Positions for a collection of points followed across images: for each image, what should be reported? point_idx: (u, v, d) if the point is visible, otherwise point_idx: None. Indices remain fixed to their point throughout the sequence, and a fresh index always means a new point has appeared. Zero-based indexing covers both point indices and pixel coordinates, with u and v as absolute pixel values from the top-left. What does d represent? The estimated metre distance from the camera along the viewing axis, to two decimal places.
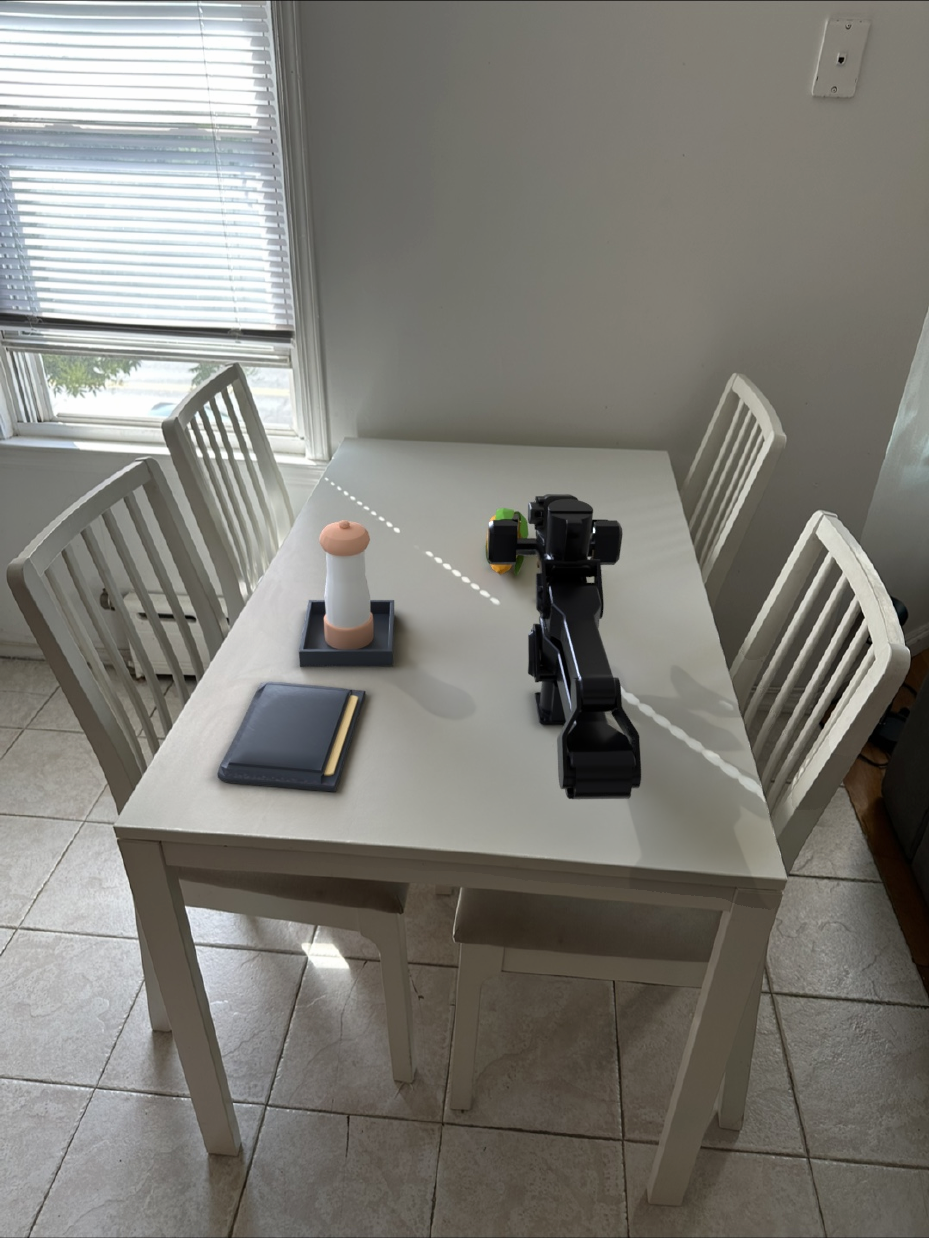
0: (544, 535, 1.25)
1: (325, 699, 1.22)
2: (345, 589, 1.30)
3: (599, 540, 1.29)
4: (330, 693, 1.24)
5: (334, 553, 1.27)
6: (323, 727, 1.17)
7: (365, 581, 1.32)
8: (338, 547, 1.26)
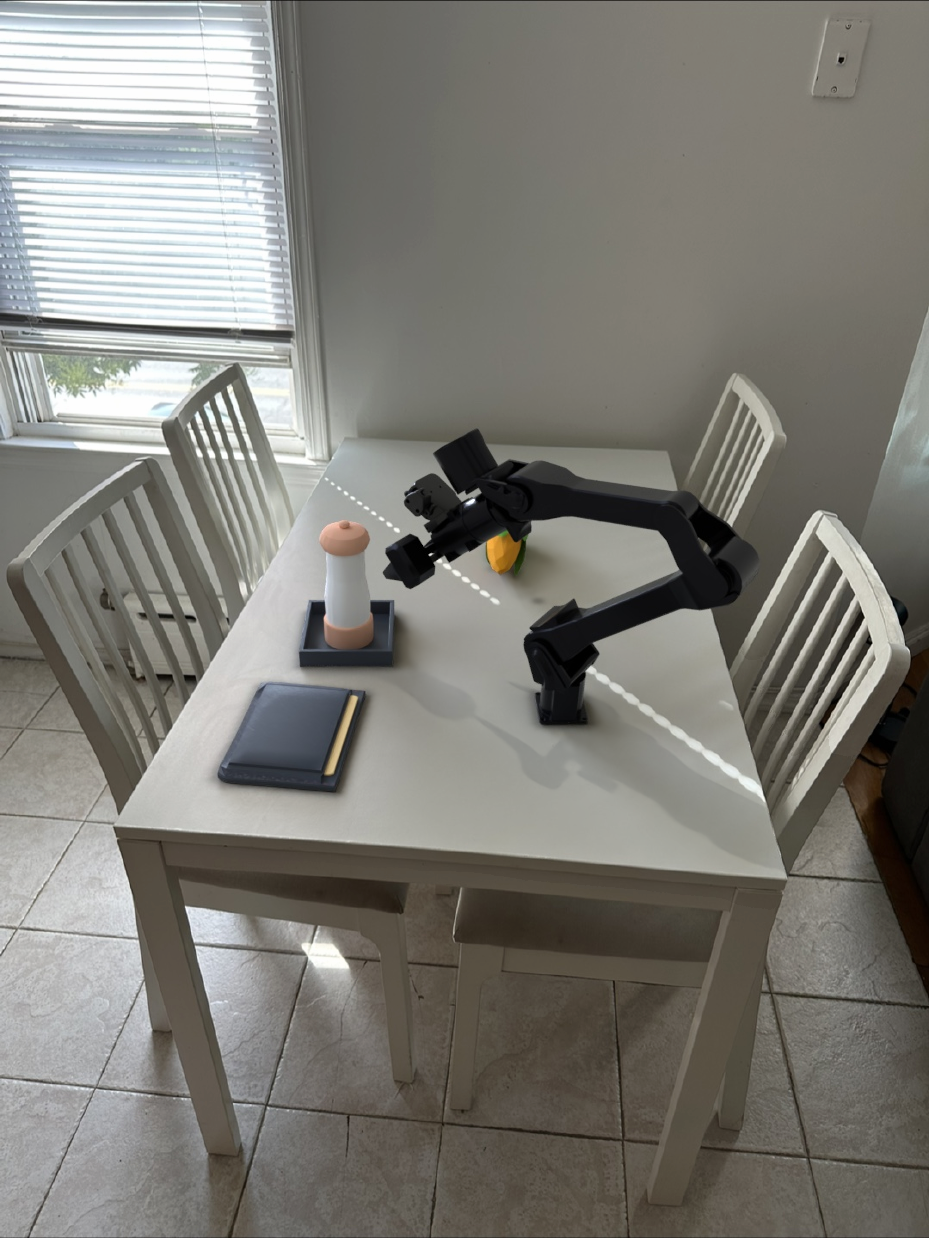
0: (440, 512, 1.19)
1: (325, 699, 1.22)
2: (345, 589, 1.30)
3: None
4: (330, 693, 1.24)
5: (334, 553, 1.27)
6: (323, 727, 1.17)
7: (365, 581, 1.32)
8: (338, 547, 1.26)
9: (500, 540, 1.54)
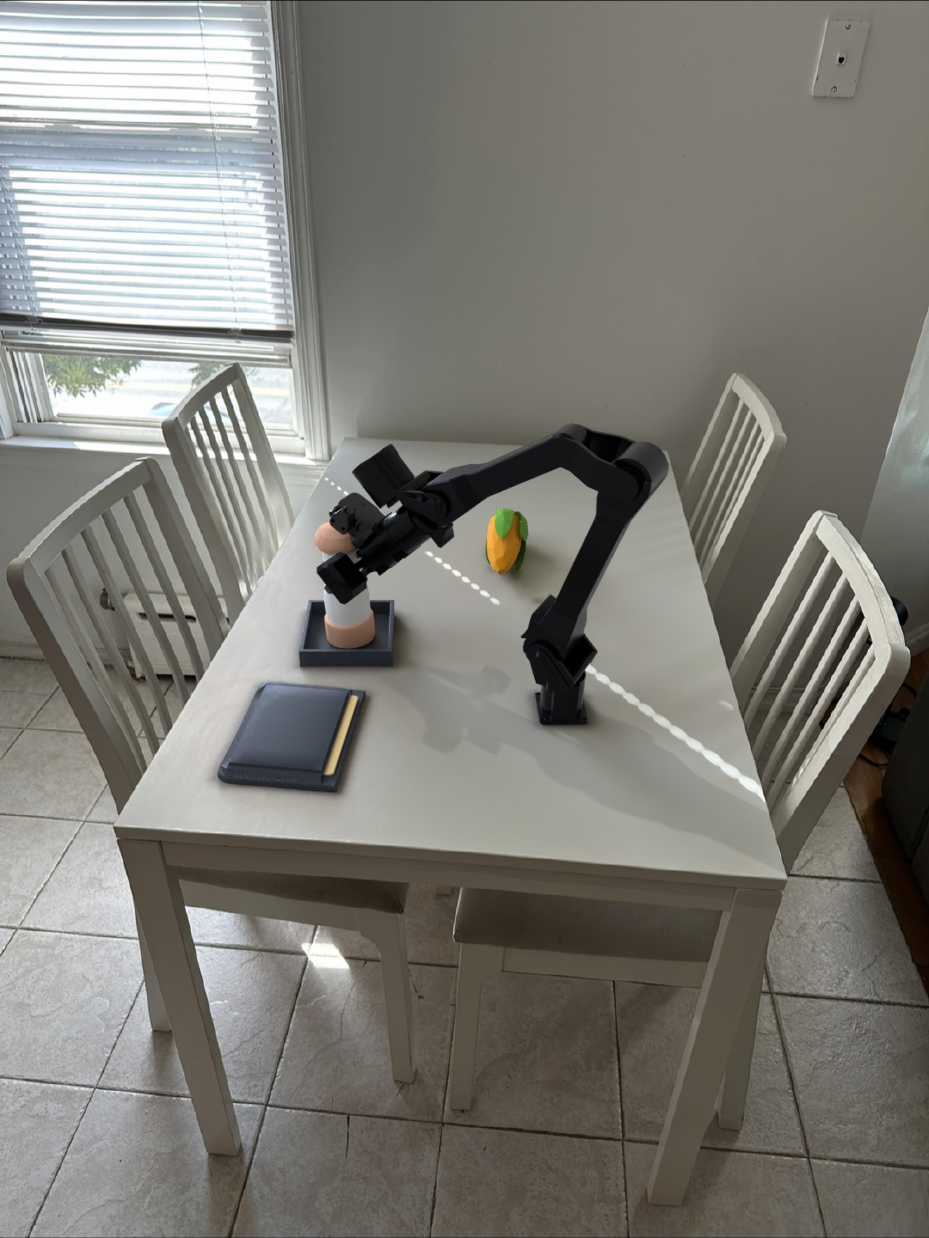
0: (366, 527, 1.24)
1: (325, 699, 1.22)
2: None
3: None
4: (330, 693, 1.24)
5: (329, 552, 1.27)
6: (323, 727, 1.17)
7: None
8: (332, 546, 1.26)
9: (501, 540, 1.54)
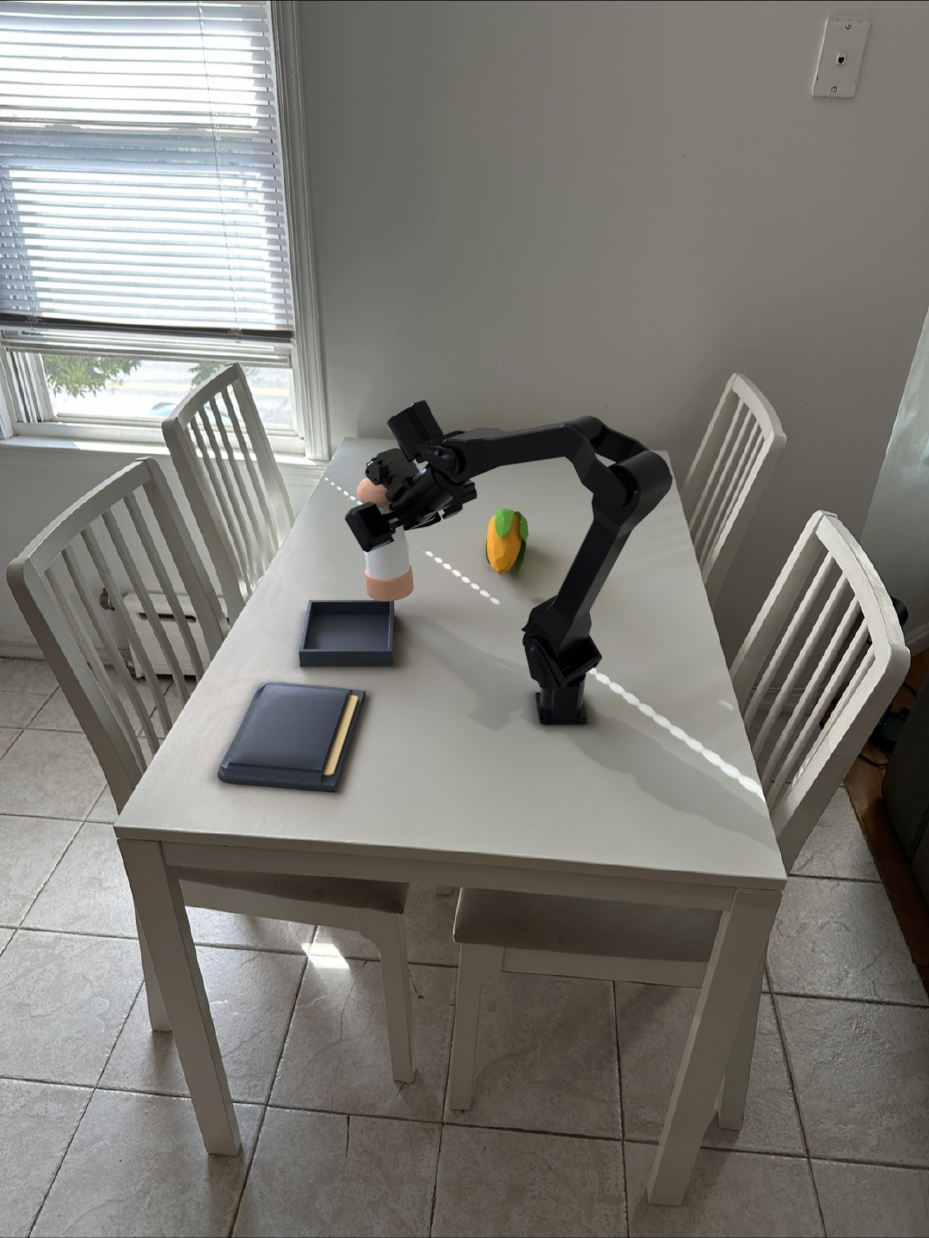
0: (398, 481, 1.27)
1: (325, 699, 1.22)
2: None
3: None
4: (330, 693, 1.24)
5: None
6: (323, 727, 1.17)
7: (400, 534, 1.36)
8: (368, 496, 1.31)
9: (501, 540, 1.54)
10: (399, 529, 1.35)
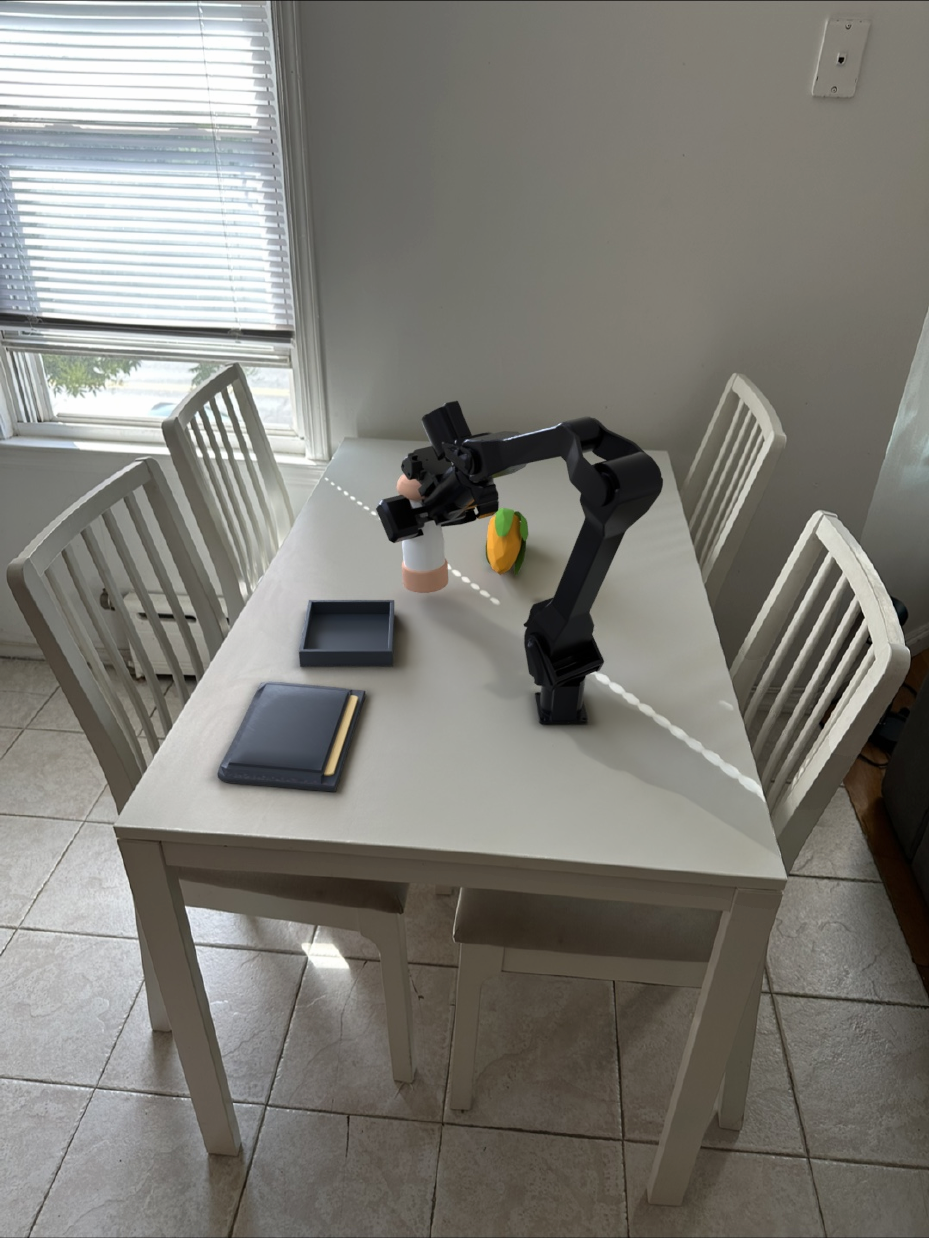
0: (429, 477, 1.32)
1: (325, 699, 1.22)
2: None
3: None
4: (330, 693, 1.24)
5: None
6: (323, 727, 1.17)
7: (435, 529, 1.40)
8: (404, 490, 1.36)
9: (500, 540, 1.54)
10: (434, 524, 1.40)
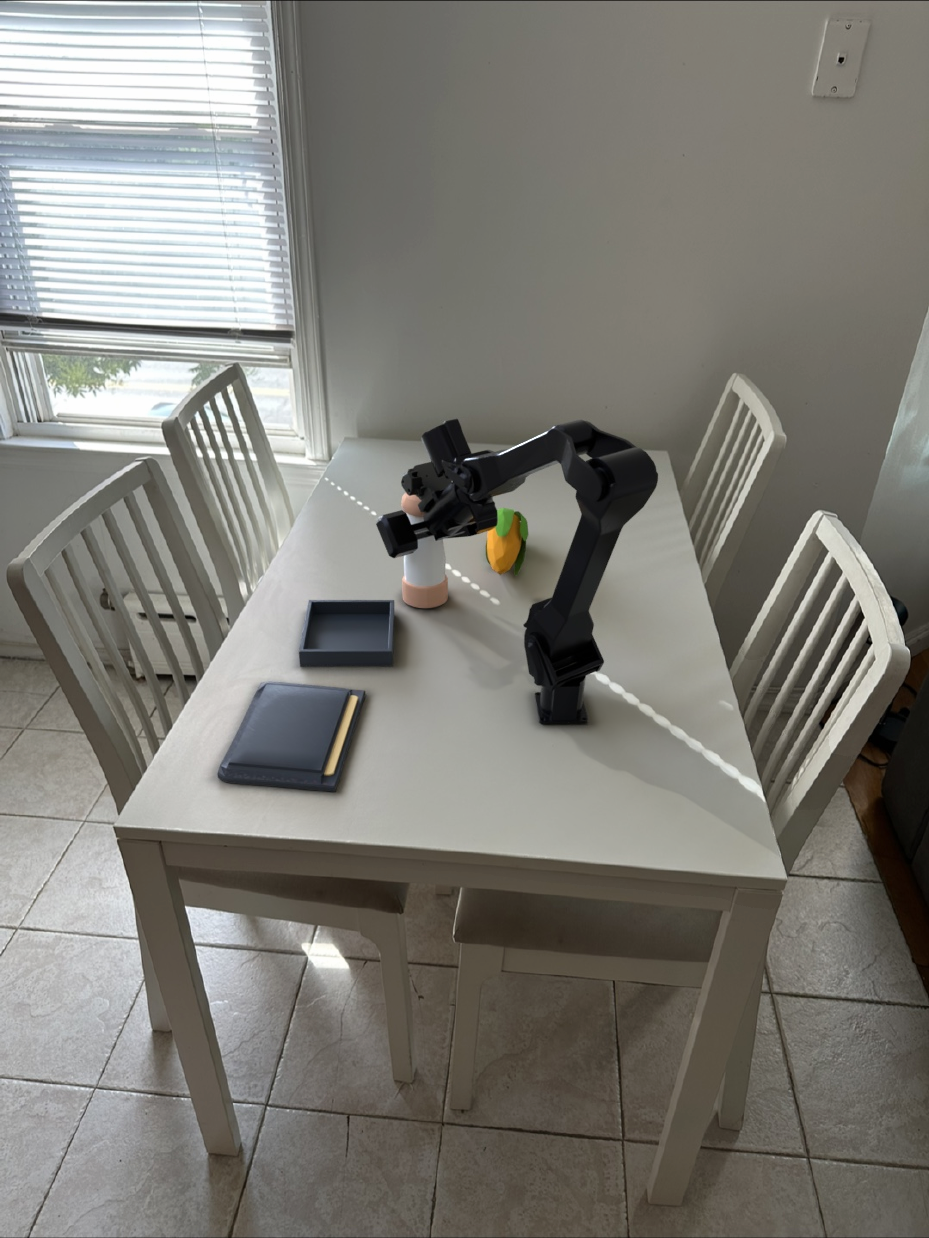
0: (429, 493, 1.33)
1: (325, 699, 1.22)
2: None
3: None
4: (330, 693, 1.24)
5: (407, 511, 1.39)
6: (323, 727, 1.17)
7: (438, 546, 1.42)
8: (409, 506, 1.38)
9: (500, 540, 1.54)
10: (437, 541, 1.42)
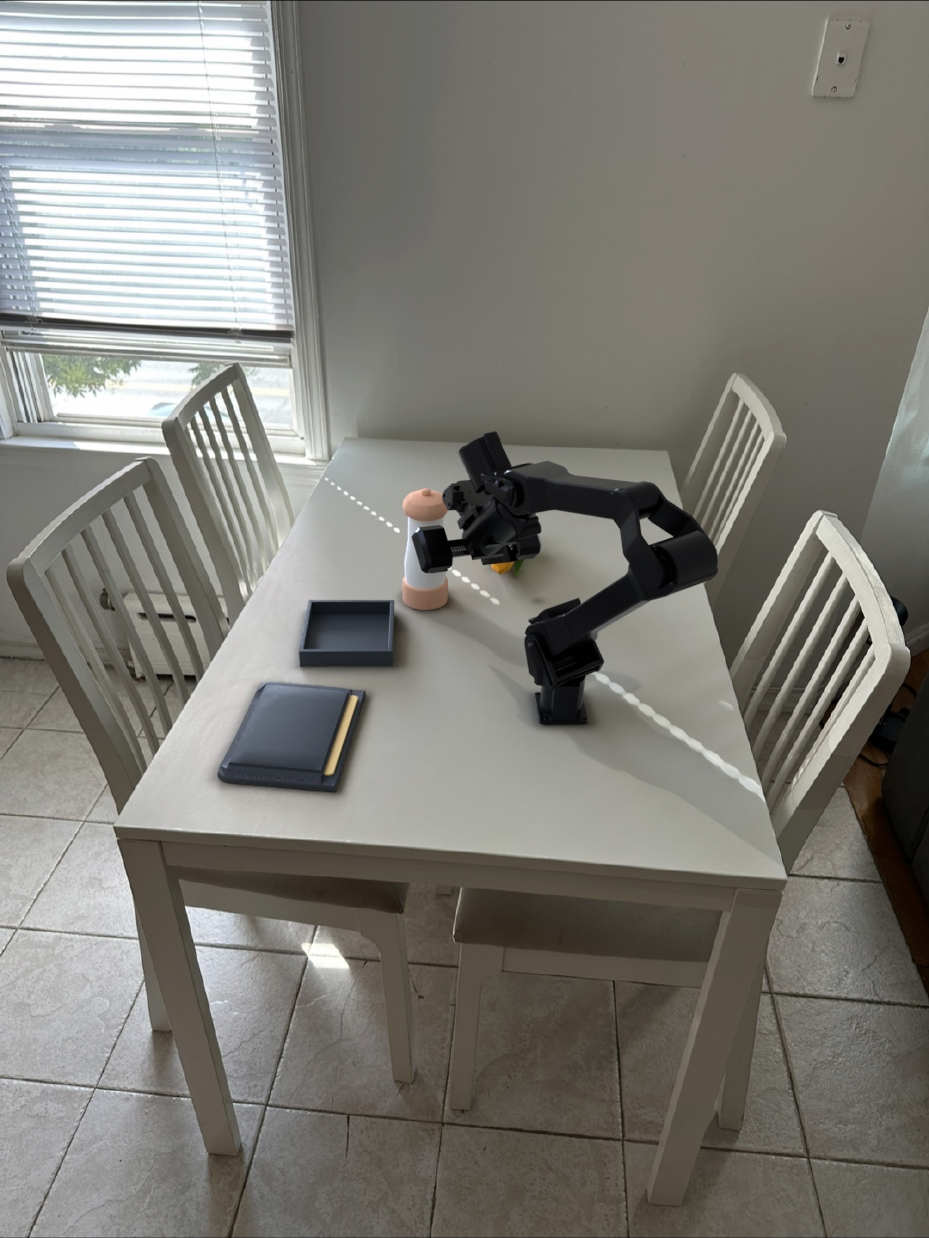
0: (470, 509, 1.27)
1: (325, 699, 1.22)
2: None
3: None
4: (330, 693, 1.24)
5: (408, 515, 1.38)
6: (323, 727, 1.17)
7: None
8: (411, 510, 1.38)
9: None
10: None
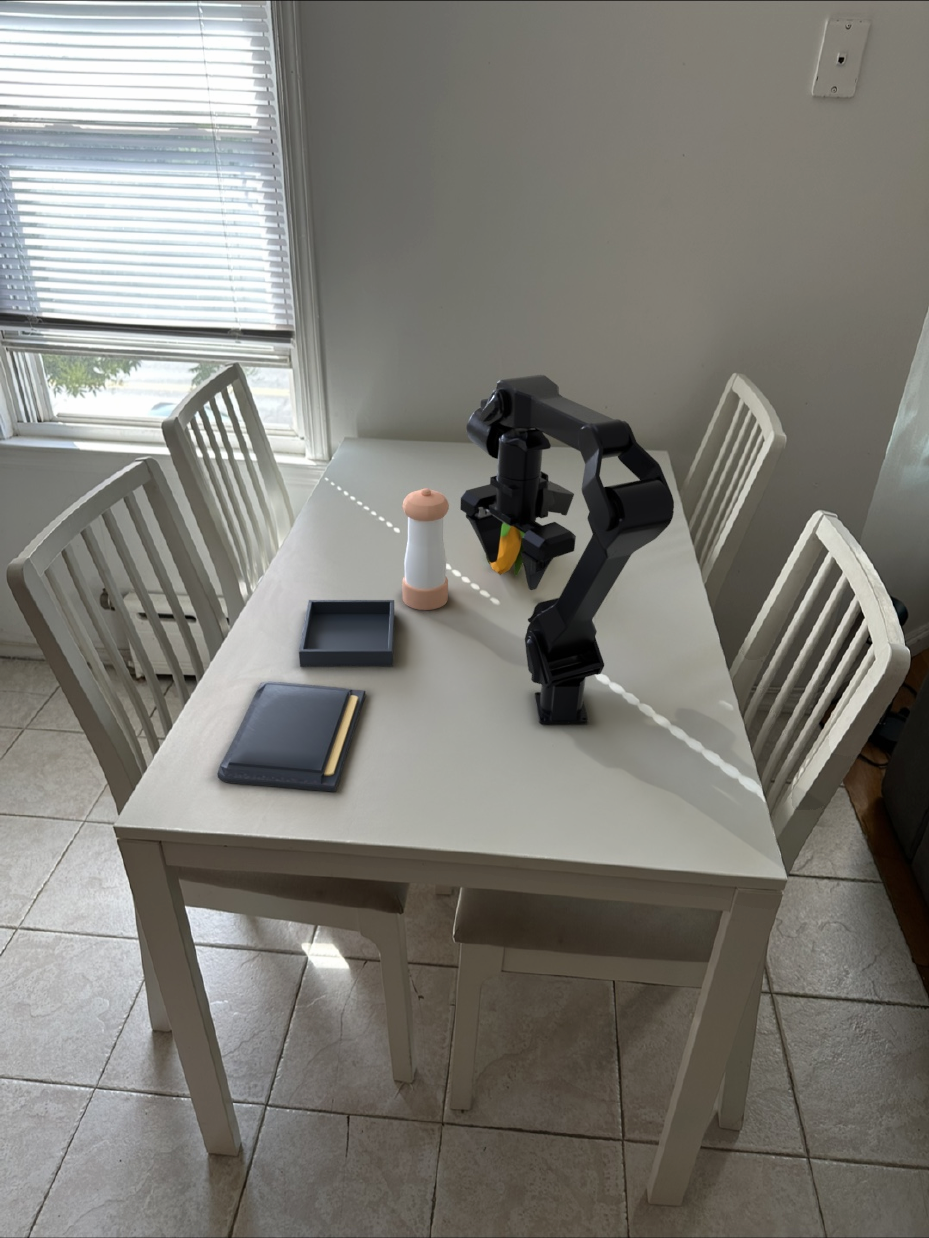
0: None
1: (325, 699, 1.22)
2: (416, 551, 1.41)
3: (552, 525, 1.21)
4: (330, 693, 1.24)
5: (408, 515, 1.38)
6: (323, 727, 1.17)
7: (439, 549, 1.42)
8: (411, 510, 1.38)
9: (500, 540, 1.54)
10: (438, 544, 1.42)
